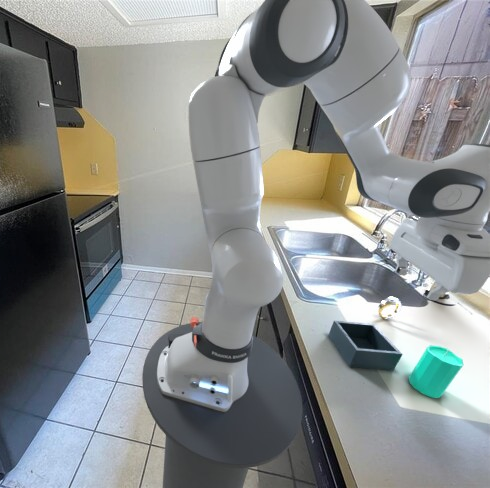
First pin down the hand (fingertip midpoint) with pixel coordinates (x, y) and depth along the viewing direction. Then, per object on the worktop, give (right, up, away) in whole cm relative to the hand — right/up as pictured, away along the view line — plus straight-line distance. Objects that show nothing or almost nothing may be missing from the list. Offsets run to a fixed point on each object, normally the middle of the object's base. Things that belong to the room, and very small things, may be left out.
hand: (413, 285), depth 59 cm
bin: (-3, -21, +13) cm, 25 cm away
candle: (+7, -26, +4) cm, 27 cm away
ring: (+17, -16, +27) cm, 36 cm away
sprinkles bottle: (+49, -10, +42) cm, 65 cm away
